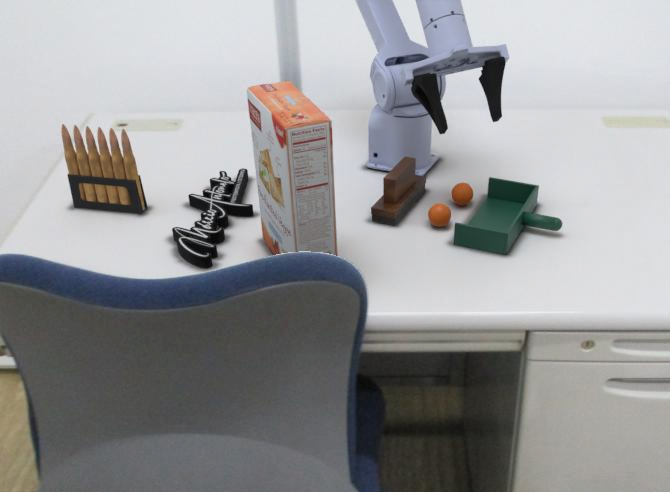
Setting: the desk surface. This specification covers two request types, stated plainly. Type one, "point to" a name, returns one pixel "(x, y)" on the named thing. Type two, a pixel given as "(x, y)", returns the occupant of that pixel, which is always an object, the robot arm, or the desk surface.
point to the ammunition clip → (103, 173)
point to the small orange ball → (439, 214)
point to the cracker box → (293, 169)
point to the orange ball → (462, 193)
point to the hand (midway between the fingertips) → (470, 125)
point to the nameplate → (212, 218)
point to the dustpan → (503, 217)
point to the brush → (398, 192)
